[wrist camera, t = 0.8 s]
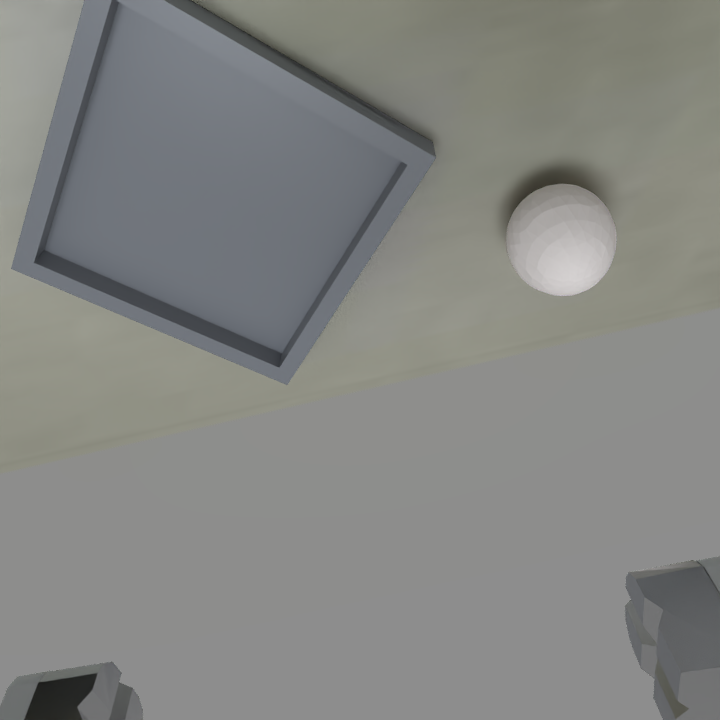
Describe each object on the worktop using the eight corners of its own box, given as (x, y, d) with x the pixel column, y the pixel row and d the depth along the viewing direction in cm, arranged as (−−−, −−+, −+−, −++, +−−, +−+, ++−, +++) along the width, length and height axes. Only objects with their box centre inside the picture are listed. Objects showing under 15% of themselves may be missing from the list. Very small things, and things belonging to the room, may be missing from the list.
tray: (110, -47, 34) (95, -40, 32) (432, 142, 40) (436, 157, 38) (26, 250, 45) (11, 268, 43) (290, 364, 51) (287, 384, 49)
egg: (479, 202, 43) (499, 263, 37) (570, 145, 40) (608, 200, 34) (525, 271, 46) (550, 339, 40) (612, 222, 44) (653, 286, 37)
